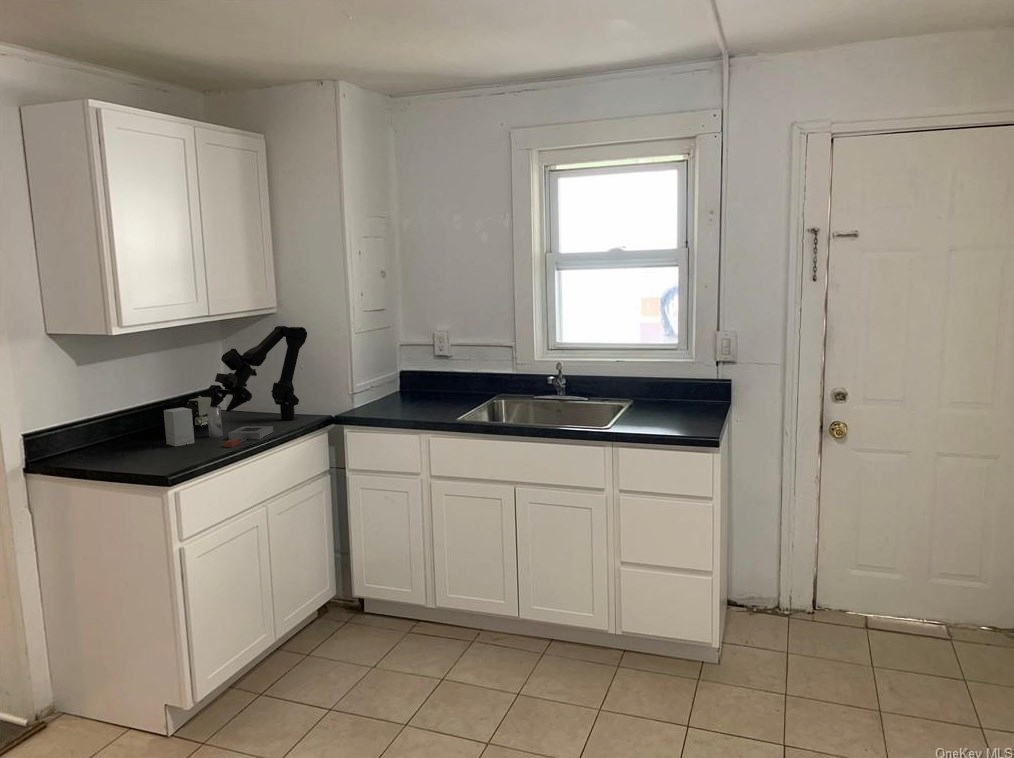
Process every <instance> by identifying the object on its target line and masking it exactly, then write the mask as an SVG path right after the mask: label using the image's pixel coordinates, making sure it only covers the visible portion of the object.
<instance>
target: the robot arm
mask: <svg viewBox="0 0 1014 758" xmlns="http://www.w3.org/2000/svg"><path fill="white" fill-rule="evenodd" d="M307 337H308V331H307V330H306V328H305V327H303V326H287V325H277V326H275V327H274V328H273V330H272V331H271V332H270V333H268V335H267V336H266V337H265V338H264V339H262V341H261V342H260V343H259V344H257V345H256V346H254V347H252V348H249V349H248V350H246V351H245V352H244V353H243V354H242V355H241V354H240V352H239V351H238V350H237V349H236V348H230V350H228V351H227V352H225V353H224V354H222V355H221V359H220V360H221V362H222V363H223V364H225V366H226V367H227V368H228V369H230V371H234V372H228V373H220V372H219V373H216V375H215V379H214V382H215V383H219V384H221V385H219V384H211V385H210V386H209V387H208V392H209V393H210V394H211V397H212V400H211V404H210V407H213V406H219V405H220V404H221V403H222V402H224V399H225V398H226V397H227V395H228V396H232V397H231V400H230V401H229V403H228V405H227V406H226V410H225V411H226V412H227V413H230V411H232V410H234V409H236V408H238V407H239V406H241V405H243V404H247V402H250V401H252V400H251V399H252V398H253V393H251V391H249V390H248V389H247V386H248V384H247V382H248V380H249V379H250V378H251V376H252V377H253V376H254V377H257V375H258V374H257V370H256V368H253V367H260V366H261V365H263V364H264V362H265V360H266V359H267V355H268V353H269V352H270V351H271V350H273V348H274V347H275V346H276V345H277V344H278V343H280V341H281V340H282V339H283V338H285V343H286V352H285V355H284V356H285V357H284V359H283V365H282V368H281V374H280V378H279V380H278V381H277V382H273V386H272V390H271V391H270V392H271V397H272V398H273V399H272V400H273V401H274V403H275V405H277V406H279V411H280V417H279V418H277V421H294V420H296V419H298V418H299V416H296V414H295V413H296V412H295V406H297V405H299V403H300V399H299V398H298V396H296V395H295V387H294V384H293V379H294V376H295V370H296V365H297V362H298V357H299V352H300V349H301V348H302V346H304V344H305V342H306V340H307ZM293 419H294V420H293Z"/></svg>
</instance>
